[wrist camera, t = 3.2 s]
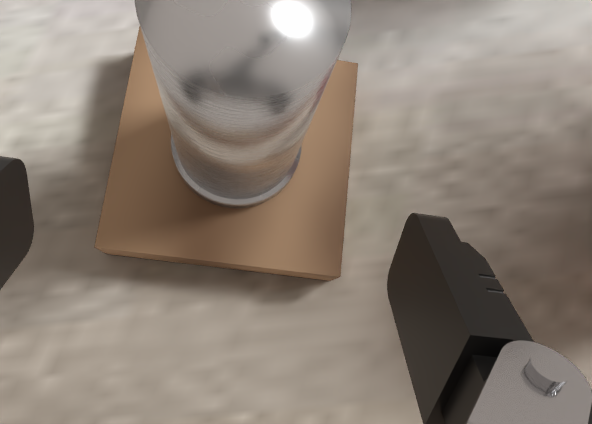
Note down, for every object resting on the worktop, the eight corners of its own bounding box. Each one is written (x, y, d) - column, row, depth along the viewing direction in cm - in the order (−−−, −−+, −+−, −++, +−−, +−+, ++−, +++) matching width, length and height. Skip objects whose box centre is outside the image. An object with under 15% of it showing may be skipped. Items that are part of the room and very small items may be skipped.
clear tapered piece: (304, 100, 22) (367, -76, 12) (292, 216, 21) (350, 122, 11) (183, 80, 21) (148, -121, 12) (163, 199, 20) (103, 83, 10)
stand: (347, 83, 25) (358, 63, 23) (330, 280, 22) (340, 276, 20) (146, 50, 23) (139, 26, 21) (106, 253, 21) (94, 247, 19)
